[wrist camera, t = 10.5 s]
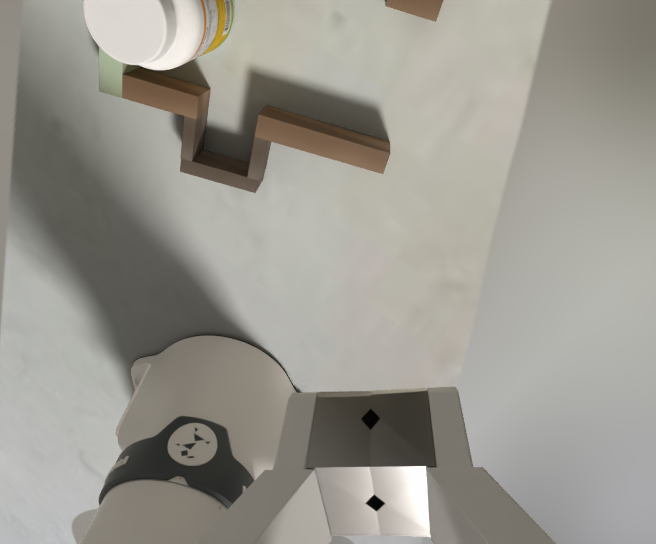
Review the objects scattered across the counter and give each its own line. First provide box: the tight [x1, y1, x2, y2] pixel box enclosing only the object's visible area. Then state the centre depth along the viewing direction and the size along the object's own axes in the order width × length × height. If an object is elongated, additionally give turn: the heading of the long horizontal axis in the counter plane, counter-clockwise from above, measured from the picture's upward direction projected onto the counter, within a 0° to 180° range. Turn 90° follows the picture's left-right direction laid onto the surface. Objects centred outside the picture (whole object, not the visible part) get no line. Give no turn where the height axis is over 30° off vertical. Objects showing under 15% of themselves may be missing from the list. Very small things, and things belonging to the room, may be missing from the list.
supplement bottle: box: [83, 0, 235, 70], centre depth 26 cm, size 5×5×10 cm
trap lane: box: [99, 0, 443, 193], centre depth 29 cm, size 19×20×2 cm
